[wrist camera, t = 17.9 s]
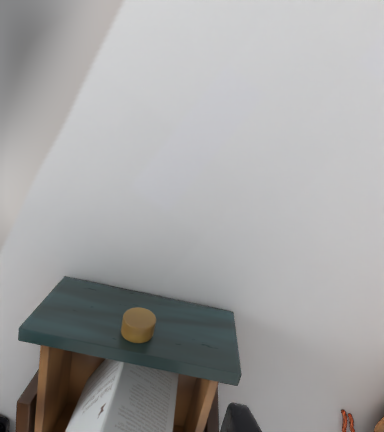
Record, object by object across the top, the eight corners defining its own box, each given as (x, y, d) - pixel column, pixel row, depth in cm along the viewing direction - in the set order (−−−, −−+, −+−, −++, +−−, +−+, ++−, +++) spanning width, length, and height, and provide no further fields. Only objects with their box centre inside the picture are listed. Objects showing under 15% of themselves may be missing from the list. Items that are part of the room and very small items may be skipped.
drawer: (65, 262, 21) (19, 311, 16) (237, 299, 21) (246, 359, 16) (53, 396, 24) (11, 472, 19) (199, 426, 25) (197, 509, 19)
